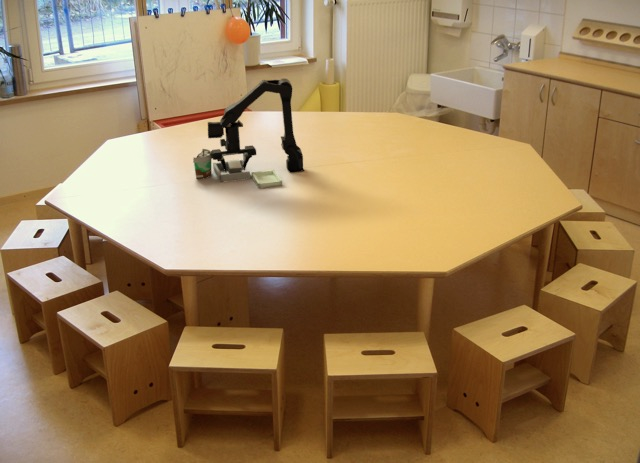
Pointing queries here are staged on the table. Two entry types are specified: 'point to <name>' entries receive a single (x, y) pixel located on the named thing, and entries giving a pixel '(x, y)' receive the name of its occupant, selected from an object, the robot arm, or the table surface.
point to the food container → (203, 164)
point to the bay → (230, 176)
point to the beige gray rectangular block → (234, 166)
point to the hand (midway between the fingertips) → (234, 171)
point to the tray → (266, 179)
